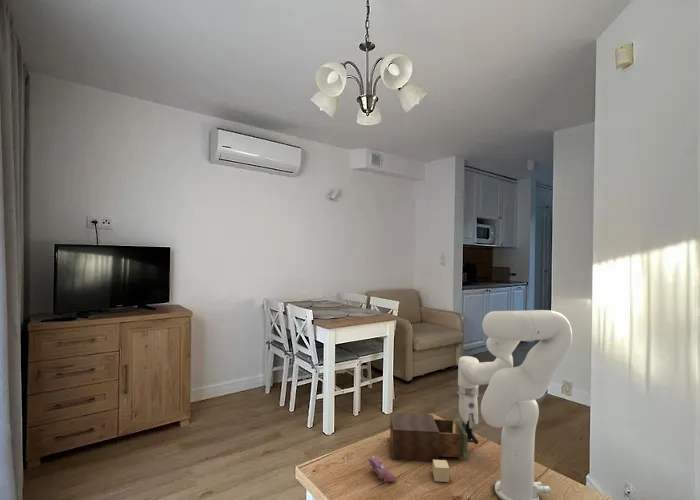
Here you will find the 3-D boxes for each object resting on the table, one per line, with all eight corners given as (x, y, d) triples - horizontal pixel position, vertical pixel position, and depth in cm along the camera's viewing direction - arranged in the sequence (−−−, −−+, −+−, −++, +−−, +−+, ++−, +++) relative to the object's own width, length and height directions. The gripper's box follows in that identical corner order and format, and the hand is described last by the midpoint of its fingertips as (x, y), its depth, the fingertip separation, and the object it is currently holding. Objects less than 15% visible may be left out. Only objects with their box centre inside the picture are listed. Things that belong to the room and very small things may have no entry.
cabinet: (431, 441, 146) (432, 414, 146) (438, 461, 132) (439, 431, 132) (390, 439, 147) (390, 412, 147) (392, 459, 132) (393, 429, 133)
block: (446, 473, 124) (446, 460, 124) (449, 482, 119) (449, 468, 120) (432, 473, 124) (432, 459, 124) (434, 481, 120) (435, 467, 120)
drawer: (470, 441, 145) (470, 419, 145) (480, 460, 131) (481, 435, 132) (418, 439, 146) (419, 416, 146) (423, 457, 132) (424, 432, 133)
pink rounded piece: (371, 473, 126) (363, 456, 125) (381, 464, 128) (374, 448, 127) (386, 489, 117) (377, 472, 116) (397, 480, 119) (389, 463, 118)
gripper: (484, 398, 131) (482, 449, 131) (472, 383, 146) (470, 429, 146) (463, 397, 132) (461, 448, 132) (453, 382, 147) (451, 428, 147)
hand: (466, 438), depth 139 cm, fingers closed
